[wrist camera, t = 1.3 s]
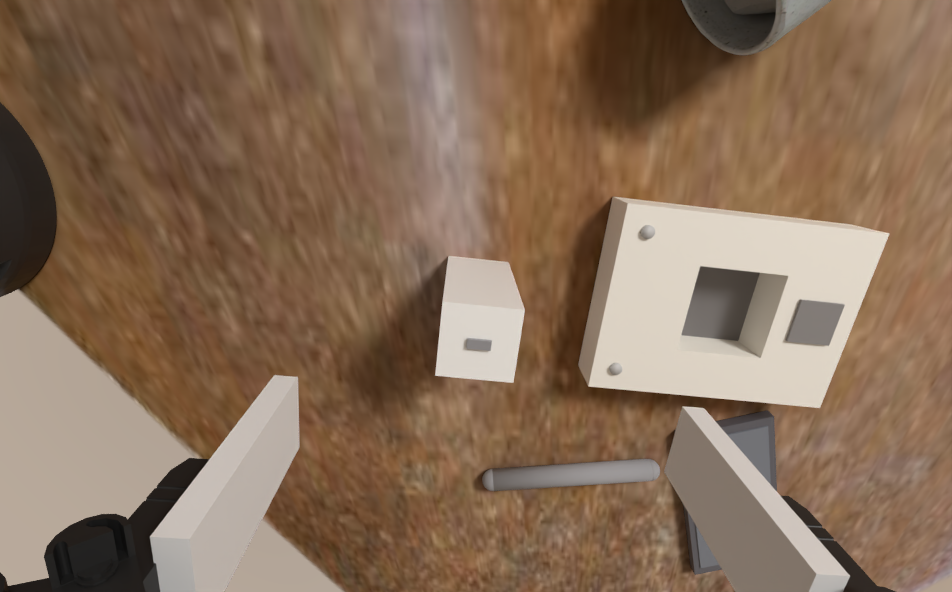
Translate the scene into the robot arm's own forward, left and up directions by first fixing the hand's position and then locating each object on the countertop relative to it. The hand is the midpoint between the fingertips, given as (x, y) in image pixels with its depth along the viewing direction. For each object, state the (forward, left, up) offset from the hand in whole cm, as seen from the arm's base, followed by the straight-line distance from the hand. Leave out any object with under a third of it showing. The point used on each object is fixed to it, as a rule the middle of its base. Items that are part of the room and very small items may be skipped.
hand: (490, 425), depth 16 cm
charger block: (0, 0, -17) cm, 17 cm away
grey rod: (+9, -14, -17) cm, 24 cm away
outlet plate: (+16, +1, -17) cm, 23 cm away
